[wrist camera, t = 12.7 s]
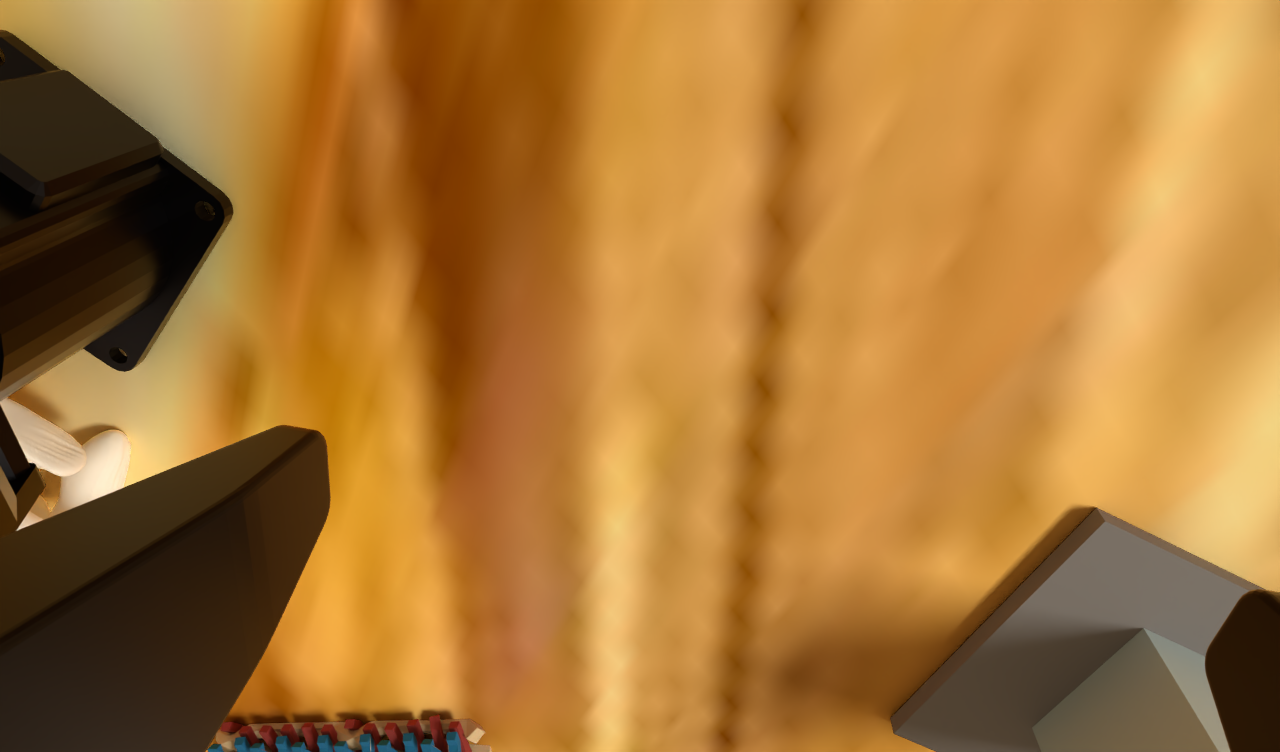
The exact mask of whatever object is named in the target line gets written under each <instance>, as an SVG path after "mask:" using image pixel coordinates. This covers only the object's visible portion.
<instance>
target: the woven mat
mask: <svg viewBox="0 0 1280 752" xmlns="http://www.w3.org/2000/svg"><path fill="white" fill-rule="evenodd" d="M484 733H485V731H484V730H483V728H482V727H481V726H480V725H479V724H477V723H476V722H474V721H472V720H470V719H452V720H440V717H439V714H438V715H435V716H431V717H429V720H419V719H415V720H391V721H371V722H369V723H366V724H365V725H363V723H362V721H360V720H355V719H346V721H345V722H308V723H265V724H249V725H247V726H242V724H239V723H234V722H223V723H222V727H221V729H220V730H218V732H217V733H216V741H217V743H218V744H213V745H212V746H210V747H209V748H208V752H492V750H491V747H490V746H489V745H472V744H469V743H468V740H470V741H472V742H474V743H475V744H476V743H477V742H478V741H479V739H480V738H481V737H482V735H483V734H484ZM424 734H432V737H433V739H425V737H424ZM444 734H447V736H446V738H445V736H444ZM385 735H387V736H388V738H389V740H382V739H381V738H382V737H383V736H385ZM299 737H305V740H306V743H307V745H305V743H304V742H301V741H300V739H299ZM261 739H264V741H265V742H266V743H267V745H268V746H264V744H263V743H260V742H259V740H261ZM467 739H468V740H467ZM390 742H391V743H392V744H391V743H390Z"/></svg>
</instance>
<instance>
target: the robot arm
mask: <svg viewBox="0 0 1280 752" xmlns="http://www.w3.org/2000/svg"><path fill="white" fill-rule="evenodd" d="M0 49H1V50H2V51H3V53H4V55H5V62H4V61H3V60H2V59H1V58H0V401H2V400H3V399H5V398H7V397H8V396H10V395H11V394H13V393H14V392H16V391H17V390H19V389H21V388H22V387H24V386H25V385H27V384H28V383H30V382H31V381H33V380H35V379H36V378H38V377H39V376H41V375H42V374H44V373H45V372H47V371H49V370H50V369H52V368H53V367H55V366H56V365H58V364H59V363H61V362H62V361H64V360H66V359H67V358H69V357H70V356H72V355H73V354H75V353H76V352H78V351H80V350H81V349H85V350H86V351H88V352H89V353H91V354H92V355H94V356H95V357H97V358H98V359H100V360H101V361H103V362H104V363H106V364H107V365H109V366H110V367H112V368H114V369H116V370H118V371H124V372H125V371H129V370H132V369H133V368H134V367H136V366H137V365H138V364H140V363H141V362H142V361H143V360H144V359H145V357H146V355H147V354H148V352H149V351H150V349H151V347H152V346H153V344H154V343H155V341H156V339H157V338H158V336H159V335H160V333H161V331H162V330H163V328H164V327H165V325H166V323H167V322H168V320H169V318H170V317H171V315H172V314H173V312H174V310H175V309H176V307H177V306H178V304H179V302H180V301H181V299H182V298H183V296H184V294H185V293H186V291H187V290H188V288H189V286H190V285H191V283H192V282H193V280H194V278H195V277H196V275H197V274H198V272H199V270H200V269H201V267H202V265H203V264H204V262H205V261H206V259H207V257H208V256H209V254H210V253H211V251H212V249H213V248H214V246H215V245H216V243H217V241H218V240H219V238H220V237H221V235H222V233H223V232H224V230H225V229H226V227H227V225H228V224H229V222H230V220H231V218H232V215H233V207H232V204H231V202H230V200H229V198H228V197H227V196H226V195H225V194H224V193H223V192H222V191H221V190H219V189H218V188H217V187H215V186H214V185H213V184H211V183H210V182H209V181H207V180H206V179H205V178H203V177H202V176H201V175H199V174H198V173H197V172H195V171H194V170H193V169H191V168H190V167H189V166H188V165H186V164H185V163H184V162H182V161H181V160H180V159H178V158H177V157H176V156H174V155H173V154H172V153H170V152H169V151H168V150H166V149H165V148H164V147H162V145H161V144H160V142H159V141H158V139H157V138H156V137H154V136H153V135H152V134H150V133H149V132H148V131H147V130H145V129H144V128H143V127H141V126H140V125H139V124H137V123H136V122H135V121H133V120H132V119H131V118H129V117H128V116H127V115H125V114H124V113H123V112H121V111H120V110H119V109H117V108H116V107H115V106H113V105H112V104H111V103H109V102H108V101H107V100H105V99H104V98H103V97H101V96H100V95H99V94H97V93H96V92H95V91H93V90H92V89H91V88H89V87H88V86H87V85H85V84H84V83H83V82H82V81H80V80H79V79H78V78H76V77H75V76H74V75H72V74H71V73H70V72H68V71H65V70H60V69H59V68H57V67H56V66H55V65H53V64H52V63H51V62H49V61H48V60H47V59H45V58H44V57H43V56H41V55H40V54H39V53H37V52H36V51H35V50H33V49H32V48H31V47H29V46H28V45H27V44H25V43H24V42H23V41H21V40H20V39H19V38H17V37H16V36H15V35H13V34H11V33H9V32H7V31H4V30H0ZM204 201H205V202H208V203H210V204H211V206H212V207H213V208H214V211H215V216H213V215H211V214H209V213H208V212H207V211H206V210H205V207H204ZM119 348H120V349H122V350H123V351H124V352H125V353H126V355H127V356H125V355H123V354H122V353H121V352H120V350H119ZM45 485H46V484H45V482H44V480H43V478H42V476H41V474H40V472H39V470H38V468H37V466H36V464H35V463H29V462H28V460H27V458H26V456H25V454H24V452H23V450H22V448H21V446H20V444H19V442H18V439H17V437H16V435H15V433H14V431H13V429H12V427H11V425H10V423H9V421H8V419H7V417H6V415H5V413H4V411H3V409H2V407H1V405H0V752H205V751H206V750H207V748H208V747H209V745H210V743H211V742H212V740H213V738H214V737H215V735H216V733H217V732H218V730H219V728H220V727H221V725H222V723H223V722H224V720H225V718H226V717H227V715H228V713H229V712H230V710H231V709H232V707H233V705H234V704H235V702H236V700H237V699H238V697H239V695H240V694H241V692H242V690H243V689H244V687H245V685H246V684H247V682H248V680H249V679H250V677H251V675H252V674H253V672H254V670H255V668H256V667H257V665H258V663H259V661H260V660H261V658H262V656H263V654H264V653H265V651H266V649H267V647H268V644H269V642H270V640H271V638H272V636H273V634H274V632H275V630H276V628H277V626H278V624H279V622H280V619H281V617H282V615H283V613H284V611H285V609H286V606H287V604H288V602H289V600H290V598H291V596H292V594H293V591H294V589H295V587H296V585H297V583H298V581H299V578H300V576H301V574H302V572H303V570H304V568H305V565H306V563H307V561H308V559H309V557H310V555H311V552H312V550H313V548H314V546H315V544H316V542H317V539H318V537H319V535H320V533H321V531H322V529H323V526H324V524H325V522H326V519H327V516H328V513H329V508H330V484H329V470H328V455H327V445H326V440H325V438H324V436H323V435H322V434H321V433H320V432H319V431H317V430H311V429H305V428H300V427H294V426H287V425H279V426H276V427H274V428H271V429H269V430H266V431H264V432H261V433H259V434H256V435H254V436H251V437H249V438H246V439H244V440H241V441H239V442H236V443H234V444H231V445H229V446H226V447H224V448H221V449H219V450H216V451H214V452H211V453H209V454H206V455H204V456H201V457H199V458H196V459H194V460H191V461H189V462H186V463H184V464H181V465H179V466H176V467H174V468H171V469H169V470H167V471H164V472H162V473H159V474H157V475H154V476H152V477H149V478H147V479H144V480H142V481H139V482H137V483H134V484H132V485H129V486H127V487H124V488H122V489H119V490H117V491H114V492H112V493H109V494H107V495H104V496H102V497H99V498H97V499H94V500H92V501H89V502H87V503H84V504H82V505H79V506H77V507H74V508H72V509H69V510H67V511H64V512H62V513H59V514H57V515H54V516H52V517H49V518H47V519H44V520H42V521H39V522H37V523H34V524H32V525H29V526H27V527H24V528H22V529H19V530H17V529H18V528H19V526H20V525H21V523H22V522H23V520H24V518H25V517H26V515H27V514H28V512H29V511H30V509H31V508H32V506H33V505H34V503H35V502H36V500H37V499H38V497H39V495H40V494H41V492H42V491H43V489H44V488H45ZM1205 672H1206V677H1207V680H1208V683H1209V686H1210V689H1211V692H1212V696H1213V699H1214V702H1215V705H1216V708H1217V711H1218V714H1219V718H1220V721H1221V724H1222V727H1223V730H1224V733H1225V736H1226V740H1227V743H1228V746H1229V749H1230V752H1280V592H1275V591H1269V590H1263V589H1256V590H1250V591H1248V592H1247V593H1245V594H1244V595H1242V596H1241V597H1240V599H1239V600H1238V601H1237V603H1236V605H1235V606H1234V608H1233V609H1232V611H1231V612H1230V614H1229V615H1228V617H1227V618H1226V620H1225V622H1224V623H1223V625H1222V626H1221V628H1220V629H1219V631H1218V632H1217V634H1216V635H1215V637H1214V638H1213V640H1212V642H1211V643H1210V645H1209V647H1208V649H1207V652H1206V655H1205Z"/></svg>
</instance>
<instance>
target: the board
mask: <svg viewBox="0 0 1280 752" xmlns="http://www.w3.org/2000/svg"><path fill="white" fill-rule="evenodd" d="M1032 729H1033V732H1034V734H1035V737H1036V739H1037V742H1038V745H1039V747H1040V750H1041V752H1230V749H1229V746H1228V743H1227V740H1226V736H1225V733H1224V730H1223V727H1222V724H1221V721H1220V718H1219V714H1218V711H1217V708H1216V705H1215V702H1214V699H1213V696H1212V692H1211V689H1210V686H1209V683H1208V680H1207V677H1206V672H1205V656H1203V655H1201V654H1199V653H1196V652H1194V651H1192V650H1190V649H1188V648H1186V647H1183V646H1181V645H1179V644H1177V643H1175V642H1173V641H1170V640H1168V639H1166V638H1164V637H1162V636H1160V635H1157V634H1155V633H1153V632H1151V631H1149V630H1147V629H1145V628H1143V629H1142V630H1141V631H1140V632H1139V633H1137V634H1136V635H1135V636H1134V637H1133V638H1132V639H1131V640H1130V641H1128V642H1127V643H1126V644H1125V645H1124V646H1123V647H1122V648H1121V649H1119V650H1118V651H1117V652H1116V653H1115V654H1114V655H1113V656H1112V657H1111V658H1109V659H1108V660H1107V661H1106V662H1105V663H1104V664H1103V665H1102V666H1100V667H1099V668H1098V669H1097V670H1096V671H1095V672H1094V673H1093V674H1092V675H1090V676H1089V677H1088V678H1087V679H1086V680H1085V681H1084V682H1083V683H1081V684H1080V685H1079V686H1078V687H1077V688H1076V689H1075V690H1074V691H1073V692H1071V693H1070V694H1069V695H1068V696H1067V697H1066V698H1065V699H1064V700H1062V701H1061V702H1060V703H1059V704H1058V705H1057V706H1056V707H1055V708H1053V709H1052V710H1051V711H1050V712H1049V713H1048V714H1047V715H1046V716H1045V717H1043V718H1042V719H1041V720H1040V721H1039V722H1038V723H1037V724H1036V725H1034V726H1033V727H1032Z"/></svg>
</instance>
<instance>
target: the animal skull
mask: <svg viewBox="0 0 1280 752" xmlns="http://www.w3.org/2000/svg"><path fill="white" fill-rule="evenodd" d="M0 405H1V407H2V409H3V411H4V413H5V415H6V417H7V419H8V421H9V423H10V425H11V427H12V429H13V431H14V433H15V435H16V437H17V439H18V442H19V444H20V446H21V448H22V450H23V452H24V454H25V456H26V458H27V460H28V462H29V463H35V464H36V466H37V468H40V469H45V470H47V471H49V472H51V473H53V474H55V475H57V476H61V487H60V494H59V498H58V501H57V503H56V505H55V507H54V509H53V510H52V512H50V509H49V507H48V505H47V503H46V501H45V500H44V498H43V497H42V496H41V495H39V497H38V499H37V500H36V502H35V503H34V505H33V506H32V508H31V509H30V511H29V512H28V514H27V515H26V517H25V518H24V520H23V522H22V523H21V525H20V526H19V528H18V529H17V530H19V529H22V528H24V527H27V526H29V525H32V524H34V523H37V522H39V521H42V520H44V519H47V518H49V517H52V516H54V515H57V514H59V513H62V512H64V511H67V510H69V509H72V508H74V507H77V506H79V505H82V504H84V503H87V502H89V501H92V500H94V499H97V498H99V497H102V496H104V495H107V494H109V493H112V492H114V491H117V490H119V489H122V488H124V483H125V479H126V476H127V472H128V467H129V462H130V456H131V455H130V452H131V443H130V441H129V439H128V437H127V436H126V434H125V433H123V432H122V431H119V430H107V431H104V432H101V433H99V434H97V435H96V436H94V437H92V438H91V439H89V440H88V441H87V442H86V443H84V444H83V445H82V446H81V445H80V444H79V443H78V442H77V441H76V440H75V439H74V438H73V437H72V436H71V435H70V434H68V433H67V432H66V431H64V430H63V429H61V428H60V427H58V426H56V425H55V424H53V423H51V422H50V421H48V420H46V419H44V418H43V417H41V416H39V415H38V414H36V413H35V412H33V411H31V410H30V409H28V408H26V407H25V406H23V405H21V404H19V403H17V402H15V401H13V400H11V399H9V398H5V399H3V400H2V401H0Z"/></svg>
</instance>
